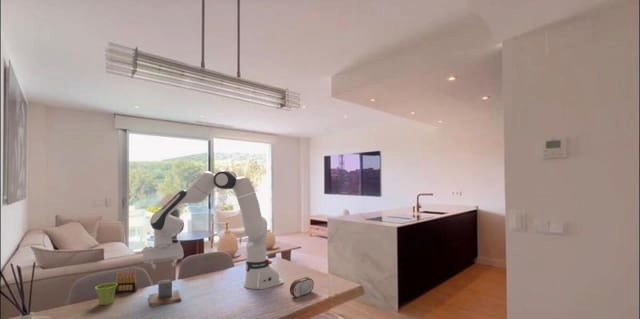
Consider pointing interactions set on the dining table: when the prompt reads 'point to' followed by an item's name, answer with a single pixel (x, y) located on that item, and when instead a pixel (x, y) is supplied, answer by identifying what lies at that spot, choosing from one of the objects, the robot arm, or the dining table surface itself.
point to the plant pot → (106, 293)
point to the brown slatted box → (126, 282)
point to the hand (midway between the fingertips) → (164, 267)
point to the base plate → (156, 301)
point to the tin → (301, 287)
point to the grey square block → (164, 289)
